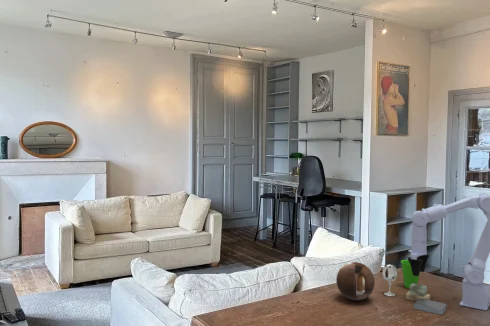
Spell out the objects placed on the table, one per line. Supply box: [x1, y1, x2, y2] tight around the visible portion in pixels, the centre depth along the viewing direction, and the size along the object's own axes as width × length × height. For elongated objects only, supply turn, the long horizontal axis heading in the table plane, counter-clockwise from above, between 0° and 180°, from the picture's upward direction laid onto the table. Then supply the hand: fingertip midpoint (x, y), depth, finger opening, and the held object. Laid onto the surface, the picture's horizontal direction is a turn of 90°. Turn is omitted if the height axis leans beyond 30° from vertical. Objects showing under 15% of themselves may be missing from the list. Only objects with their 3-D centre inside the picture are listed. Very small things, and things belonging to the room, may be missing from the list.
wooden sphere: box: [335, 261, 375, 301], centre depth 174 cm, size 15×15×15 cm
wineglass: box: [382, 264, 398, 297], centre depth 180 cm, size 6×6×12 cm
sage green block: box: [405, 283, 431, 302], centre depth 175 cm, size 8×6×6 cm
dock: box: [413, 298, 448, 316], centre depth 164 cm, size 10×8×2 cm
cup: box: [400, 259, 421, 289], centre depth 190 cm, size 9×9×11 cm
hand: (418, 273), depth 175 cm, fingers open, 7 cm apart
